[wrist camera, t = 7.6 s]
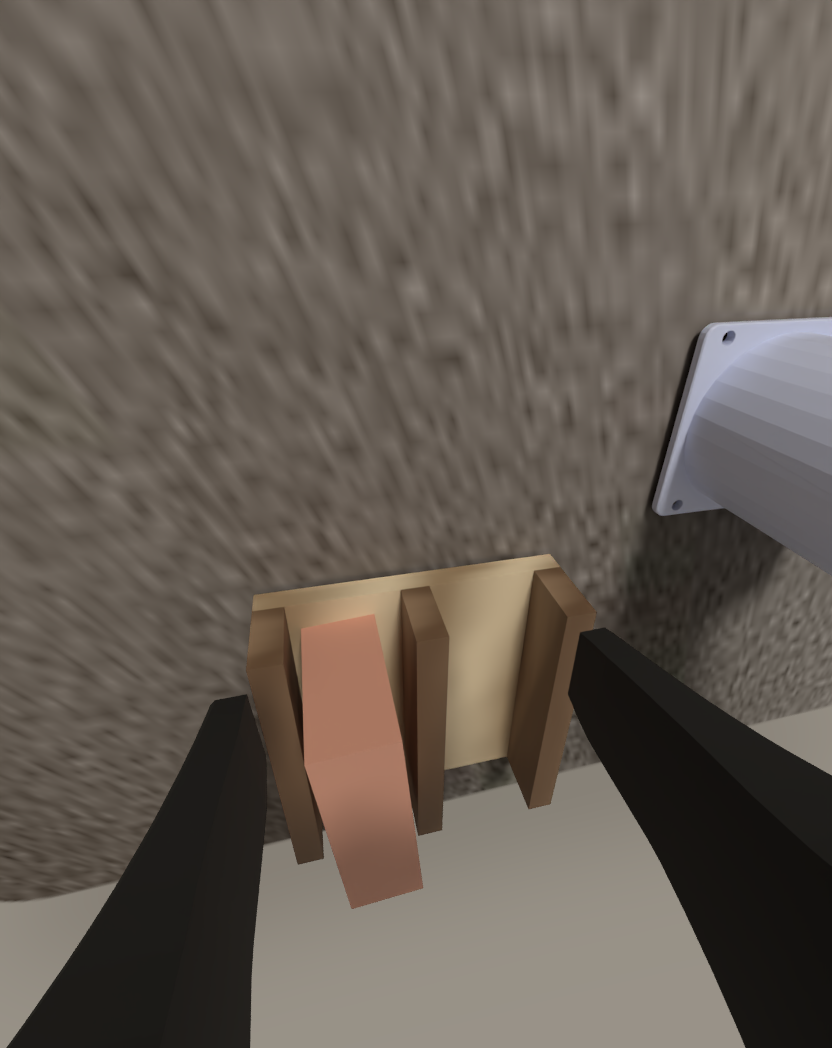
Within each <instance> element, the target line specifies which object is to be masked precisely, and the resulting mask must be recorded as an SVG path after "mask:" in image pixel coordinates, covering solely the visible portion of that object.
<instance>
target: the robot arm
mask: <svg viewBox="0 0 832 1048" xmlns="http://www.w3.org/2000/svg"><path fill="white" fill-rule="evenodd" d="M726 333H727V337H726V339H725V340H724V341H723V342H722V339H723V337H724V335H725V334H726ZM674 502H676V503H675V504H674V505H673V503H674ZM721 508H725V509H727V510H729V511H730V512H732V513H733V514H735V515H737V516H738V517H740V518H741V519H743V520H744V521H746V522H748V523H749V524H751V525H752V526H754V527H755V528H757V529H759V530H760V531H762V532H763V533H765V534H767V535H768V536H770V537H771V538H773V539H774V540H776V541H778V542H779V543H781V544H782V545H784V546H785V547H787V548H789V549H790V550H792V551H793V552H795V553H796V554H798V555H800V556H801V557H803V558H804V559H806V560H808V561H809V562H811V563H812V564H814V565H815V566H817V567H819V568H820V569H822V570H823V571H825V572H826V573H828V574H830V575H831V576H832V317H821V318H800V319H780V320H759V321H738V322H718V323H711V324H709V325H707V326H706V327H705V328H704V329H703V330H702V331H701V333H700V335H699V338H698V341H697V345H696V348H695V352H694V356H693V359H692V363H691V366H690V370H689V374H688V377H687V381H686V385H685V388H684V392H683V395H682V399H681V403H680V406H679V410H678V413H677V417H676V421H675V424H674V428H673V431H672V435H671V439H670V442H669V446H668V449H667V453H666V457H665V460H664V464H663V467H662V471H661V475H660V478H659V482H658V485H657V489H656V493H655V496H654V500H653V503H652V509H653V511H654V512H656V513H657V514H658V515H660V516H667V515H674V514H682V513H690V512H698V511H705V510H713V509H721ZM568 696H569V698H570V701H571V703H572V705H573V708H574V710H575V712H576V715H577V717H578V719H579V721H580V723H581V725H582V728H583V730H584V732H585V734H586V736H587V738H588V740H589V742H590V743H591V745H592V747H593V749H594V750H595V752H596V754H597V755H598V757H599V759H600V760H601V762H602V764H603V765H604V767H605V769H606V770H607V772H608V774H609V775H610V777H611V779H612V780H613V782H614V784H615V786H616V787H617V789H618V790H619V792H620V794H621V795H622V797H623V799H624V800H625V802H626V804H627V805H628V807H629V809H630V810H631V812H632V814H633V815H634V817H635V819H636V820H637V822H638V824H639V825H640V827H641V829H642V830H643V832H644V834H645V835H646V837H647V839H648V841H649V842H650V844H651V846H652V848H653V850H654V851H655V853H656V855H657V857H658V859H659V860H660V862H661V864H662V866H663V868H664V870H665V873H666V875H667V877H668V879H669V880H670V883H671V884H672V887H673V889H674V891H675V893H676V895H677V897H678V898H679V901H680V903H681V905H682V907H683V909H684V911H685V913H686V915H687V917H688V920H689V922H690V924H691V926H692V928H693V930H694V933H695V935H696V937H697V939H698V941H699V943H700V945H701V947H702V950H703V952H704V954H705V956H706V958H707V960H708V963H709V965H710V967H711V969H712V971H713V973H714V976H715V978H716V980H717V983H718V985H719V987H720V990H721V992H722V994H723V996H724V998H725V1001H726V1003H727V1006H728V1008H729V1010H730V1012H731V1015H732V1017H733V1019H734V1022H735V1024H736V1026H737V1028H738V1031H739V1033H740V1035H741V1038H742V1040H743V1043H744V1045H745V1047H746V1048H832V775H830V774H828V773H826V772H824V771H823V770H821V769H819V768H817V767H815V766H814V765H812V764H810V763H808V762H806V761H805V760H803V759H801V758H799V757H798V756H796V755H794V754H792V753H790V752H789V751H787V750H785V749H784V748H782V747H780V746H779V745H777V744H775V743H773V742H772V741H770V740H768V739H767V738H765V737H763V736H762V735H760V734H759V733H757V732H755V731H754V730H752V729H751V728H749V727H748V726H746V725H744V724H743V723H741V722H740V721H738V720H737V719H735V718H733V717H732V716H730V715H729V714H727V713H726V712H724V711H723V710H721V709H720V708H718V707H717V706H715V705H714V704H712V703H711V702H709V701H708V700H706V699H705V698H703V697H702V696H700V695H699V694H697V693H696V692H694V691H693V690H692V689H690V688H689V687H687V686H686V685H684V684H683V683H681V682H680V681H679V680H677V679H676V678H674V677H673V676H672V675H670V674H669V673H667V672H666V671H665V670H663V669H662V668H660V667H659V666H658V665H656V664H655V663H654V662H652V661H651V660H649V659H648V658H647V657H645V656H644V655H642V654H641V653H640V652H638V651H637V650H636V649H634V648H633V647H631V646H630V645H629V644H627V643H626V642H625V641H623V640H622V639H620V638H619V637H618V636H616V635H615V634H613V633H612V632H611V631H609V630H608V629H606V628H600V629H595V630H589V631H584V632H580V635H579V640H578V645H577V650H576V655H575V660H574V665H573V670H572V675H571V680H570V685H569V690H568ZM266 811H267V779H266V755H265V751H264V748H263V745H262V742H261V739H260V735H259V732H258V729H257V726H256V723H255V719H254V716H253V713H252V710H251V706H250V703H249V700H248V697H247V695H241V696H236V697H231V698H225V699H220V700H215V701H214V702H213V703H212V704H211V705H210V707H209V710H208V712H207V714H206V717H205V719H204V721H203V723H202V726H201V728H200V730H199V732H198V734H197V737H196V739H195V741H194V743H193V745H192V747H191V749H190V752H189V754H188V756H187V758H186V760H185V762H184V764H183V766H182V768H181V770H180V772H179V774H178V776H177V778H176V780H175V782H174V783H173V785H172V787H171V789H170V791H169V793H168V795H167V797H166V799H165V801H164V802H163V804H162V806H161V808H160V810H159V812H158V814H157V816H156V818H155V819H154V821H153V823H152V825H151V827H150V828H149V830H148V832H147V834H146V835H145V837H144V839H143V841H142V842H141V844H140V846H139V847H138V849H137V851H136V853H135V854H134V856H133V858H132V859H131V861H130V863H129V865H128V866H127V868H126V870H125V872H124V873H123V875H122V877H121V878H120V880H119V882H118V883H117V885H116V887H115V889H114V890H113V891H112V893H111V895H110V896H109V898H108V900H107V901H106V903H105V904H104V906H103V908H102V909H101V911H100V913H99V914H98V915H97V917H96V919H95V920H94V922H93V923H92V925H91V926H90V928H89V929H88V931H87V933H86V934H85V936H84V937H83V939H82V940H81V942H80V943H79V945H78V946H77V948H76V949H75V951H74V952H73V954H72V955H71V957H70V958H69V960H68V961H67V963H66V964H65V966H64V967H63V969H62V970H61V972H60V973H59V974H58V976H57V977H56V979H55V980H54V982H53V983H52V985H51V986H50V987H49V989H48V990H47V991H46V993H45V994H44V996H43V997H42V999H41V1000H40V1002H39V1003H38V1004H37V1006H36V1007H35V1009H34V1010H33V1012H32V1013H31V1014H30V1016H29V1017H28V1019H27V1020H26V1022H25V1023H24V1024H23V1026H22V1027H21V1029H20V1030H19V1031H18V1033H17V1034H16V1036H15V1037H14V1038H13V1040H12V1041H11V1042H10V1044H9V1045H8V1046H7V1048H250V1025H251V977H252V976H251V975H252V961H253V960H252V959H253V945H254V934H255V925H256V914H257V904H258V894H259V884H260V873H261V864H262V853H263V843H264V833H265V822H266Z"/></svg>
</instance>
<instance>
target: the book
mask: <svg viewBox="0 0 832 1048" xmlns="http://www.w3.org/2000/svg"><path fill="white" fill-rule="evenodd" d="M301 654H302V692H303V731H304V766H305V769H306V772H307V775H308V778H309V781H310V784H311V787H312V790H313V793H314V796H315V799H316V802H317V805H318V808H319V811H320V814H321V817H322V820H323V823H324V826H325V830H326V833H327V835H328V838H329V841H330V845H331V847H332V851H333V854H334V857H335V860H336V863H337V866H338V869H339V872H340V875H341V878H342V881H343V884H344V887H345V890H346V893H347V896H348V899H349V902H350V905H351V908H352V909H354V908H357V907H360V906H364V905H367V904H371V903H374V902H378V901H381V900H384V899H387V898H391V897H394V896H398V895H401V894H405V893H408V892H412V891H415V890H418V889H422V888H423V883H422V876H421V869H420V863H419V855H418V848H417V842H416V834H415V827H414V821H413V813H412V806H411V799H410V792H409V785H408V778H407V771H406V764H405V757H404V750H403V742H402V738H401V733H400V728H399V724H398V719H397V715H396V710H395V706H394V701H393V697H392V692H391V688H390V683H389V678H388V674H387V669H386V665H385V660H384V656H383V651H382V647H381V642H380V638H379V633H378V628H377V624H376V619H375V615H374V614H371V615H366V616H361V617H356V618H351V619H346V620H341V621H336V622H332V623H327V624H322V625H317V626H312V627H307V628H302V629H301Z"/></svg>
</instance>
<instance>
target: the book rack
mask: <svg viewBox="0 0 832 1048" xmlns="http://www.w3.org/2000/svg"><path fill="white" fill-rule="evenodd" d="M596 613H597V612H596V611H595V610H594V608H593V607H592V606H591V605H590V603H589V602H588V601H587V600H586V598H585V597H584V596H583V595H582V593H581V592H580V591H579V590H578V588H577V587H576V586H575V585H574V584H573V582H572V581H571V580H570V579H569V577H568V576H567V575H566V574H565V572H564V571H563V570H562V569H561V567H560V566H559V565H558V564H557V562H556V561H555V560H554V559H553V557H552V556H551V555H550V554H546V555H539V556H532V557H524V558H517V559H510V560H503V561H496V562H488V563H481V564H474V565H467V566H460V567H452V568H445V569H438V570H431V571H424V572H416V573H409V574H402V575H395V576H387V577H380V578H373V579H366V580H359V581H351V582H344V583H337V584H330V585H323V586H315V587H308V588H301V589H294V590H287V591H279V592H272V593H265V594H258V595H254V597H253V607H252V617H251V627H250V637H249V647H248V657H247V666H246V672H247V676H248V679H249V683H250V687H251V691H252V694H253V698H254V702H255V706H256V709H257V713H258V717H259V721H260V724H261V728H262V732H263V736H264V739H265V743H266V747H267V751H268V754H269V758H270V762H271V766H272V769H273V773H274V777H275V781H276V784H277V788H278V792H279V796H280V799H281V803H282V807H283V811H284V814H285V818H286V822H287V826H288V829H289V833H290V837H291V841H292V844H293V848H294V852H295V856H296V859H297V863H298V864H303V863H307V862H311V861H314V860H319V859H323V858H324V854H323V835H322V817H321V814H320V811H319V808H318V805H317V802H316V799H315V796H314V793H313V790H312V787H311V784H310V781H309V778H308V775H307V772H306V769H305V766H304V731H303V692H302V654H301V629H302V628H307V627H312V626H317V625H322V624H327V623H332V622H336V621H341V620H346V619H351V618H356V617H361V616H366V615H371V614H374V615H375V619H376V624H377V628H378V633H379V638H380V642H381V647H382V651H383V656H384V660H385V665H386V669H387V674H388V678H389V683H390V688H391V692H392V697H393V701H394V706H395V710H396V715H397V719H398V724H399V728H400V733H401V738H402V742H403V750H404V757H405V764H406V771H407V778H408V785H409V792H410V799H411V803H412V808H413V813H414V817H415V822H416V827H417V832H418V835H424V834H428V833H432V832H436V831H440V830H442V817H443V816H442V815H443V791H444V770H447V769H452V768H456V767H461V766H465V765H470V764H475V763H479V762H484V761H488V760H493V759H498V758H502V757H507V758H508V760H509V763H510V765H511V768H512V770H513V773H514V775H515V777H516V780H517V782H518V785H519V787H520V789H521V791H522V794H523V797H524V799H525V801H526V804H527V806H528V809H532V808H536V807H540V806H544V805H549V804H550V803H551V799H552V795H553V790H554V787H555V783H556V778H557V775H558V770H559V766H560V762H561V758H562V754H563V750H564V746H565V741H566V737H567V733H568V729H569V725H570V721H571V717H572V713H573V705H572V703H571V701H570V698H569V696H568V690H569V685H570V680H571V675H572V670H573V665H574V660H575V655H576V650H577V645H578V640H579V635H580V632H584V631H589V630H593V626H594V622H595V618H596Z"/></svg>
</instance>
